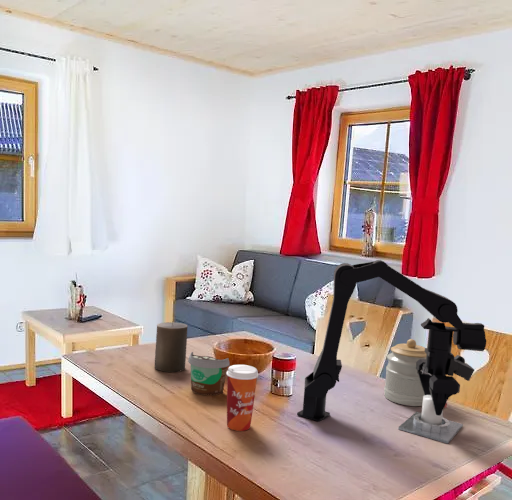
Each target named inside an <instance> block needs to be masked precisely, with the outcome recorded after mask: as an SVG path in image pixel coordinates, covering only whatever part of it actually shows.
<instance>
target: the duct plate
mask: <svg viewBox="0 0 512 500" xmlns="http://www.w3.org/2000/svg"><path fill="white" fill-rule="evenodd" d="M421 415H422V412H419V411H415V412H414V413H413V414H412V415H410V416H409V417H408V418H407V419H406V420H405V421H404V422H402V423H401V424H400V425H399V426H398V430H399V431H403V432H406V433H410V434H413V435H416V436H420V437H424V438H427V439H430V440H434V441H437V442H439V443H444V444H447V445H448V444H450V443H451V441H452V440H453V439H454V437H455V436H456V435H457V434H458V433H459V431H460V430H461V429H462V428H463V426H464V425H463V423H460V422H457V421H452V420H448V419H447V418H446V417H444V416H443V417H442V425H432V424H428V423H425V422H423V421H421Z"/></svg>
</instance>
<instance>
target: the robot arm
mask: <svg viewBox="0 0 512 500" xmlns="http://www.w3.org/2000/svg"><path fill="white" fill-rule="evenodd" d="M378 278H380V279H382V280H384V282H386V283H388V284H389V285H391V286H393V287H394V288H396V289H398V290H399V291H401V292H402V293H403V294H405V295H407V296H408V297H410V298H411V299H413V300H415V301H416V302H417V303H418V304H419V305H420V306H421V307H423V308H424V309H425V310H426V311H427V312H428V313H429V314H430V315H432V317H434V318H435V319H436V320H437V321H438V322H437V321H432V319H430V318H429V317H428V318H426V319H425V321H423V322H421V323H420V327H422V329H424V330H428V337H427V345H426V346H427V347H424V348H425V353H426V359H419V360H418V361H417V362H416V369H417V373H418V376H419V379H420V382H421V385H422V388H423V391H424V395H431V398H432V402H433V406H434V410H435V413H436V415H439V416H440V415H441V414H442V411H443V412H444V409H445V408H444V407H445V404H446V402H447V403H448V399H449V398H450V397H451V396H455V395H457V394H459V393H460V391H461V384H460V382H458V381H457V379H456V378H455V377H453V376H454V375H456V376H459V377H461V378H462V379H464V380H465V381H468V382H470V379H471V378H472V376H473V374H474V372H475V369H474V368H473V367H472V366H471V365H470V364H468V363H466V361H465V360H466V359H465V357H463V356H461V355H459V354H456V355H454V354H453V353H452V346H453V345H455V346H456V347H457V349H458V350H463V351H475V352H484V351H485V349H486V348H487V347H486V346H487V339H486V331H485V325H484V324H483V323H481V322H480V323H479V322H474V323H473V322H463V321H462V320H461V318H460V317H459V314H458V312H459V311H458V306H457V304H456V303H455V302H454V301H453V300H451V299H449V298H448V297H446V296H444V295H441V294H439V293H437V292H434V291H433V290H432V291H431V290H429V289H427V288H424V287H422V286H421V285H419V284H417V283H416V282H414V281H413V280H412V279H410V278H408V277H407V276H405V275H403V274H402V273H401V272H399V271H397V270H396V269H394V268H393V267H391V266H389V264H387V263H386V262H385V261H383V260H381V259H376V260H374V261H371V262H370V261H369V262H363V263H361V262H360V263H357V264H350V263H348V262H342V263H340V264H338V265H337V266H336V267H335V269H334V271H333V298H332V304H331V309H330V313H329V317H328V323H327V327H326V331H325V337H324V342H323V346H322V349H321V351H320V354H319V356H318V358H317V360H316V362H315V364H314V367H313V371H312V372H311V373H310V374H308V375H307V376H305V378H304V388H303V389H304V392H303V402H302V403H303V404H302V409H301V410H300V411H298V412H297V413H296V416H299V417H303V418H306V419H309V420H312V421H315V422H321V421H322V420H323V421H324V419H326V418H327V417H329V416H330V415H331V412H329V411H326V403H327V394H328V392H329V391H330V390H331V389H333V388H335V386H336V384H337V383H339V382H340V378H339V376H340V373H341V371H342V368H343V364H342V360H341V359H338V352H339V347H340V342H341V338H342V332H343V328H344V323H345V319H346V314H347V308H348V304H349V301H350V300H351V297H352V296H353V294H354V292H355V289H356V286H357V283H362V282H366V281H369V280H372V279H378ZM445 323H448V324H450V325H451V326H446V325H445Z"/></svg>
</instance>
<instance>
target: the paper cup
mask: <svg viewBox="0 0 512 500" xmlns="http://www.w3.org/2000/svg"><path fill="white" fill-rule="evenodd" d="M226 377H227V381H226V382H227V386H226V389H227V391H226V425H227V428H228V429H229V430H232V431H237V432H243V431H248V430H249V429H250V428H251V423H252V418H253V411H254V403H255V397H256V396H255V395H256V390H257V380H258V378H259V373H258V369H257V368H256V367H254V366H252V365H247V364H233V365H230V366H228V367H227V372H226Z"/></svg>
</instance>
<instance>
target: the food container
mask: <svg viewBox="0 0 512 500" xmlns="http://www.w3.org/2000/svg"><path fill="white" fill-rule="evenodd" d="M187 363H189V364H190V388H191V391H192V393H194V392H195V393H194V394H197V395H201V396H216V395H220V394H223V393H224V388H225V384H226V383H225V382H226V377H227V374H226V372H227V371H228V367H230V366H231V365H230V360H229V357H227V358H225V359H224V358H223V359H218V358H216V357H213V356H205V355H204V356H203V355H202V356H201V355H197V354H196V355H195V354H194V351H191V352H190V353H189V356H188V360H187Z"/></svg>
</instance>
